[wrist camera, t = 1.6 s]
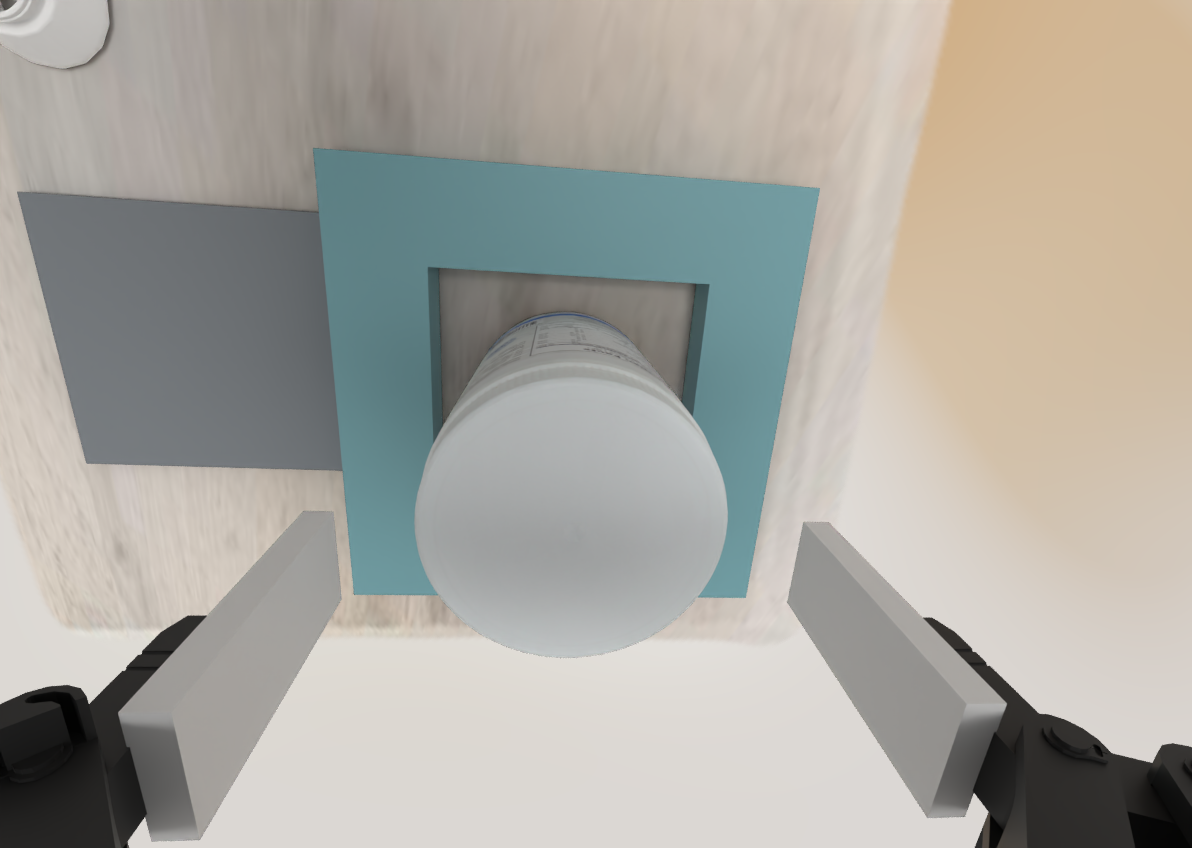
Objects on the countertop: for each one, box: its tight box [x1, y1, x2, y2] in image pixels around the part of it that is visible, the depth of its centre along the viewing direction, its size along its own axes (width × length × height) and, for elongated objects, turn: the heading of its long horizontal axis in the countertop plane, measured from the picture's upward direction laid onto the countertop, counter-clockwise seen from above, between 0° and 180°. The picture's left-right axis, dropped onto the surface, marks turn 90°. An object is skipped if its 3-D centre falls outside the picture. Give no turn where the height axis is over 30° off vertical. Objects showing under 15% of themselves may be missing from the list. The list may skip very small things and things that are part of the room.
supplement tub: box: [414, 312, 728, 658], centre depth 23 cm, size 10×10×15 cm
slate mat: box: [17, 192, 343, 471], centre depth 27 cm, size 13×13×1 cm
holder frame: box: [313, 148, 820, 598], centre depth 29 cm, size 22×22×2 cm
